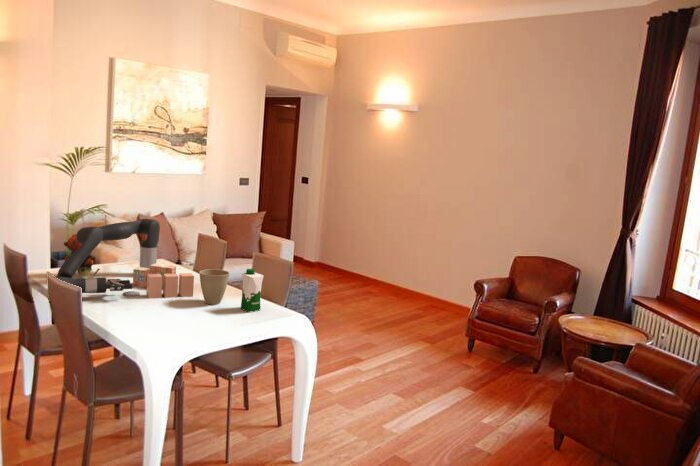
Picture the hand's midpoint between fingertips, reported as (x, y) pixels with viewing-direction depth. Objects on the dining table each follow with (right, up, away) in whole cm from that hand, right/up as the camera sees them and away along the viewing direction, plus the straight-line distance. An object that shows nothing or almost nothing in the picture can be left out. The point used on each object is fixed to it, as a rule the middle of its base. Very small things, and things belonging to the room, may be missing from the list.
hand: (131, 284), depth 276 cm
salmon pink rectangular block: (+9, -7, +7) cm, 13 cm away
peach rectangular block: (+23, -7, +14) cm, 28 cm away
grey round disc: (-3, -6, +7) cm, 9 cm away
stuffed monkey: (-39, +1, +31) cm, 50 cm away
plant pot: (+39, -10, +6) cm, 41 cm away
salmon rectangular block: (+16, -7, +11) cm, 20 cm away
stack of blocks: (+3, -4, +25) cm, 26 cm away
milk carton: (+60, -13, 0) cm, 61 cm away
